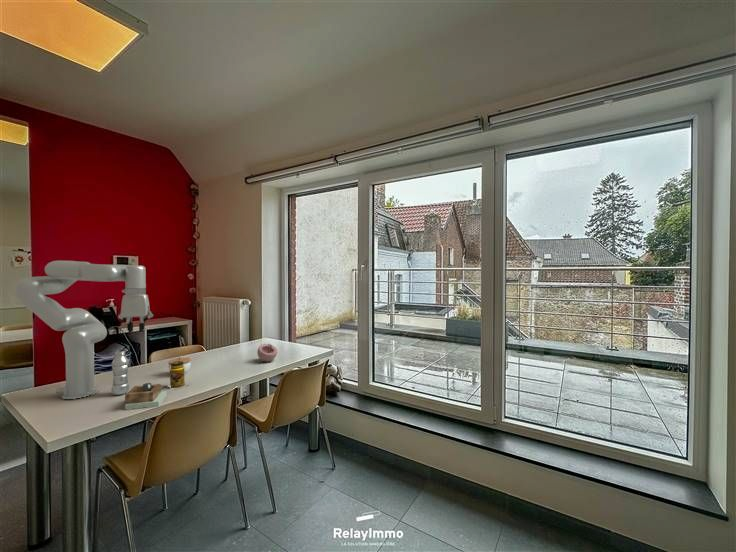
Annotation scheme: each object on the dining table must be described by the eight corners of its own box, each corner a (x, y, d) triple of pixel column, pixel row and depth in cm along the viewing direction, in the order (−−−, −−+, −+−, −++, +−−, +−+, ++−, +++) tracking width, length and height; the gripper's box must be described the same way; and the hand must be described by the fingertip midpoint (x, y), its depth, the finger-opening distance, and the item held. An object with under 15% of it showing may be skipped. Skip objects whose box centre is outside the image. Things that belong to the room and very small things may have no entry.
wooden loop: (125, 404, 131) (125, 394, 131) (135, 394, 140) (134, 386, 140) (153, 401, 134) (152, 392, 134) (160, 392, 143) (160, 383, 143)
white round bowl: (164, 375, 172) (164, 358, 172) (183, 369, 181) (183, 353, 181) (176, 378, 167) (176, 361, 167) (195, 372, 176) (195, 356, 176)
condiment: (174, 390, 152) (173, 365, 151) (164, 386, 156) (164, 362, 155) (189, 385, 158) (188, 361, 158) (179, 382, 162) (179, 359, 162)
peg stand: (125, 409, 130) (124, 390, 130) (136, 398, 141) (136, 380, 141) (158, 406, 134) (158, 387, 133) (167, 395, 145) (167, 378, 145)
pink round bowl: (266, 365, 191) (266, 346, 191) (253, 362, 197) (253, 343, 197) (281, 360, 201) (281, 342, 201) (268, 357, 208) (268, 340, 207)
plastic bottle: (127, 389, 151) (126, 348, 150) (131, 393, 147) (130, 350, 146) (109, 394, 146) (109, 351, 145) (113, 397, 142) (113, 353, 141)
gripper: (110, 293, 139) (110, 334, 140) (153, 292, 144) (154, 332, 145) (118, 291, 146) (118, 331, 147) (159, 291, 151) (159, 329, 152)
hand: (136, 331), depth 146 cm, fingers open, 3 cm apart
